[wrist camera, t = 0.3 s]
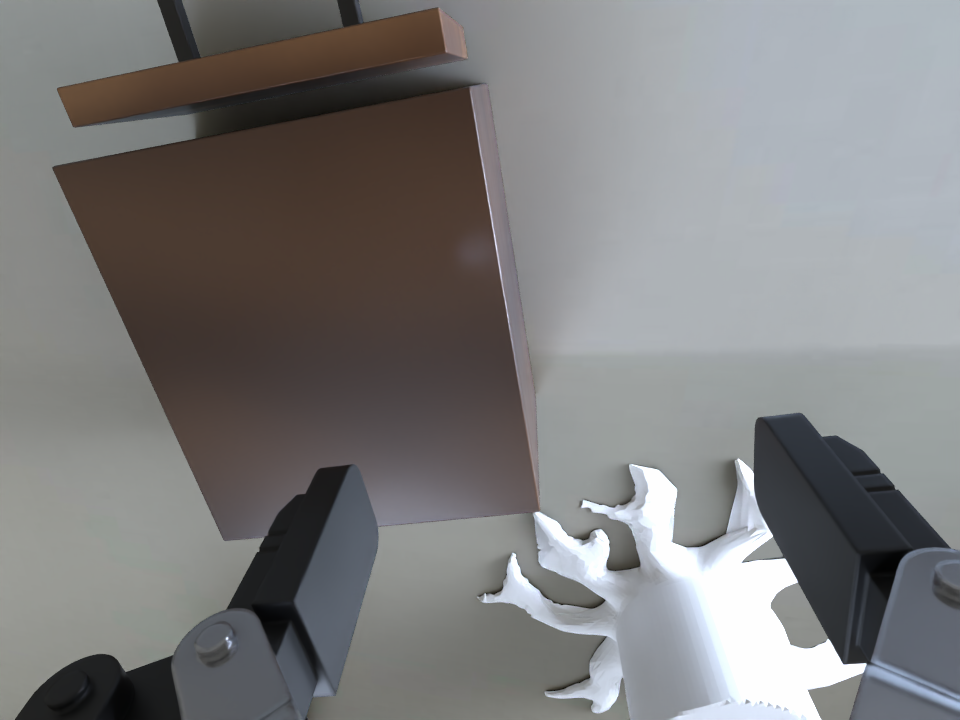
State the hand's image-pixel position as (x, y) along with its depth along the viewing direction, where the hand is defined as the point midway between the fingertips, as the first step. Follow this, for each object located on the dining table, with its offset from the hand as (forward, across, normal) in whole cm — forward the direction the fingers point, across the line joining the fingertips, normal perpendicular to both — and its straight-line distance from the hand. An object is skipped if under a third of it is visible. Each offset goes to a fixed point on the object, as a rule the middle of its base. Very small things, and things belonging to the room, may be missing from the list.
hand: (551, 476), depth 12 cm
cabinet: (+18, +8, +1) cm, 20 cm away
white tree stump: (+18, -6, +26) cm, 32 cm away
